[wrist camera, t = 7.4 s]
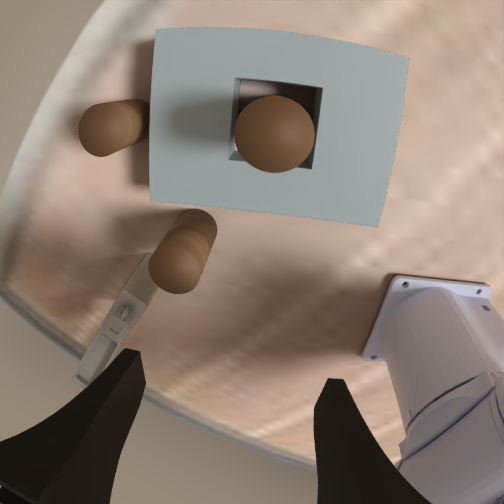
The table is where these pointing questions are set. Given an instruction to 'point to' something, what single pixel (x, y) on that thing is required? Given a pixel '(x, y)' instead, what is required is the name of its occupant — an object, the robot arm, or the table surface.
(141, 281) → the lighter
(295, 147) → the tall dowel
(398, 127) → the socket block
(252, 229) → the table surface
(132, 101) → the short dowel
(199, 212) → the medium dowel
